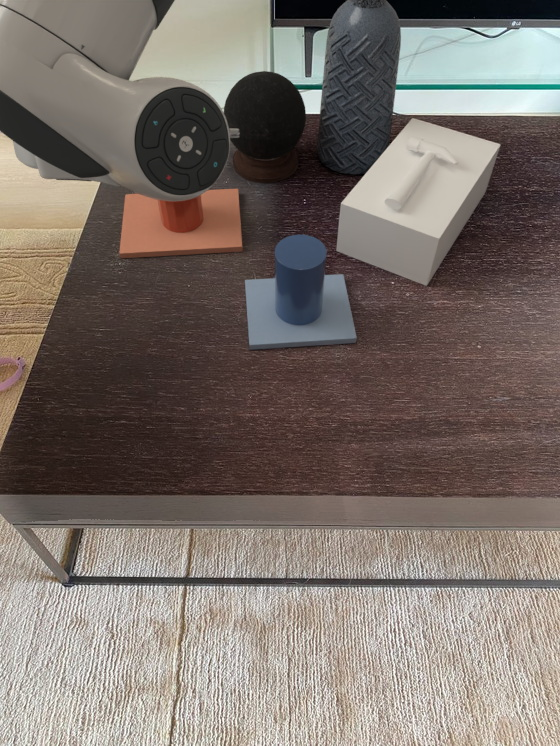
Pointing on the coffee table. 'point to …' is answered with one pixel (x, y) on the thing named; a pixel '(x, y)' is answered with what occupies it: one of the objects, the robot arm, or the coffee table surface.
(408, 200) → the hammer relief block
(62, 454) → the coffee table surface
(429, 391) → the coffee table surface
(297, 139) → the black ball on stand
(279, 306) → the navy blue cylinder
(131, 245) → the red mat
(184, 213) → the terracotta cup
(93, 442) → the coffee table surface
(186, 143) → the robot arm
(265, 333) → the blue mat
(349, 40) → the vase
